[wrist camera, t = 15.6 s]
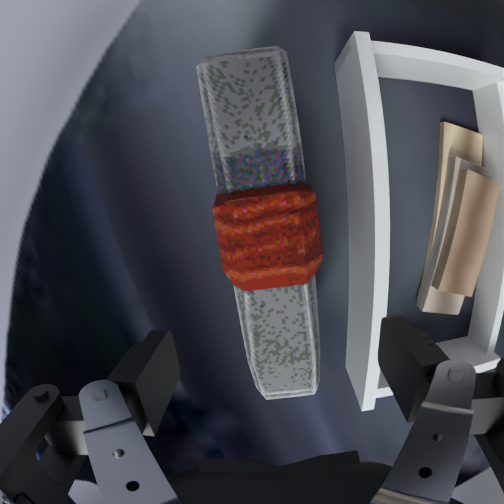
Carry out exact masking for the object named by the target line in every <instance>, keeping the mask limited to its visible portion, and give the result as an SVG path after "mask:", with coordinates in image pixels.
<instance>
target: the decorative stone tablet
mask: <svg viewBox="0 0 504 504" xmlns="http://www.w3.org/2000/svg"><path fill="white" fill-rule="evenodd" d="M196 68H197V74H198V80H199V87H200V93H201V99H202V105H203V111H204V117H205V123H206V129H207V135H208V140H209V146H210V152H211V158H212V163H213V169H214V174H215V180H216V186H217V191H218V192H217V196H216V199H215V202H214V206H213V209H212V211H213V217H214V223H215V228H216V234H217V240H218V245H219V251H220V256H221V262H222V267H223V271H224V272H225V274H226V275H227V276H228V278H229V279H230V281H231V282H232V283H233V285H234V290H235V296H236V301H237V307H238V312H239V318H240V323H241V328H242V333H243V339H244V344H245V349H246V354H247V359H248V363H249V367H250V370H251V373H252V376H253V379H254V382H255V385H256V388H257V389H258V390H259V391H260V393H261V394H262V395H263V396H264V397H265V398H266V399H267V400H268V399H278V398H287V397H296V396H305V395H313V394H315V392H316V389H317V386H318V384H319V381H320V339H319V321H318V306H317V292H316V279H315V273H316V271H317V269H318V267H319V265H320V264H321V262H322V260H323V255H322V245H321V235H320V226H319V218H318V209H317V201H316V194H315V192H314V190H313V189H312V188H311V186H310V185H309V184H308V183H307V181H306V175H305V167H304V159H303V152H302V144H301V137H300V130H299V123H298V116H297V110H296V103H295V97H294V91H293V85H292V79H291V73H290V67H289V62H288V56H287V51H285V50H283V49H282V48H280V47H278V46H270V47H261V48H254V49H247V50H240V51H234V52H228V53H222V54H217V55H212V56H207V57H204V58H203V59H202V60H201V61H200V63H199V64H198V65H197V66H196Z"/></svg>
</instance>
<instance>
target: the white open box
mask: <svg viewBox="0 0 504 504" xmlns="http://www.w3.org/2000/svg"><path fill="white" fill-rule="evenodd" d="M334 68H335V75H336V82H337V89H338V97H339V105H340V113H341V123H342V132H343V143H344V155H345V168H346V183H347V201H348V228H349V305H348V331H347V350H346V365H345V366H346V369H347V372H348V374H349V377H350V380H351V383H352V385H353V388H354V391H355V394H356V397H357V399H358V402H359V405H360V408H361V411H367V410H373V409H374V405H375V400H376V398H379V397H385V396H390V395H393V393H392V391H391V389H390V387H389V385H388V383H387V381H386V379H385V377H384V375H383V373H382V371H381V369H380V367H379V364H378V346H379V337H380V326H381V320H382V318H383V317H386V314H387V302H388V286H389V263H390V199H389V176H388V160H387V148H386V137H385V127H384V118H383V110H382V102H381V95H380V88H379V82H378V77H385V78H396V79H405V80H414V81H422V82H429V83H436V84H442V85H448V86H453V87H459V88H464V89H469V90H473V96H474V102H475V108H476V115H477V123H478V131H479V134H482V135H483V140H482V166H481V167H484V168H486V169H488V170H491V178H490V179H491V180H493V181H495V182H497V183H499V184H500V186H499V192H498V198H497V203H496V209H495V214H494V218H493V223H492V228H491V232H490V236H489V240H488V244H487V248H486V252H485V255H484V259H483V262H482V266H481V269H480V273H479V276H478V279H477V285H476V292H475V299H474V305H473V311H472V316H471V322H470V327H469V332H468V336H465V337H461V338H456V339H452V340H447V341H443V342H438V343H436V344H437V345H438V346H439V347H440V348H441V349H442V351H443V352H444V353H445V354H446V355H447V356H448V358H449V359H450V360H461V361H465V362H467V363H469V364H471V365H472V366H473V367H474V368H475V370H476V373H481V372H484V371H487V370H490V369H493V368H496V366H497V363H498V362H499V361H500V357H499V356H498V355H497V354H496V353H494V348H495V345H496V341H497V337H498V333H499V329H500V325H501V320H502V315H503V311H504V68H501V67H498V66H495V65H492V64H489V63H485V62H482V61H478V60H475V59H471V58H467V57H464V56H460V55H456V54H451V53H447V52H442V51H438V50H433V49H427V48H422V47H416V46H410V45H403V44H396V43H388V42H380V41H371V39H370V34H369V32H360V31H354V32H353V34H352V35H351V37H350V38H349V40H348V42H347V43H346V45H345V47H344V48H343V50H342V52H341V53H340V55H339V57H338V58H337V60H336V62H335V63H334Z"/></svg>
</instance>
